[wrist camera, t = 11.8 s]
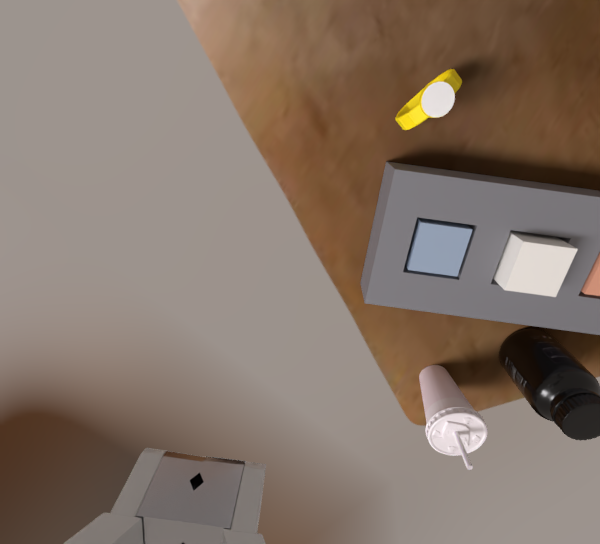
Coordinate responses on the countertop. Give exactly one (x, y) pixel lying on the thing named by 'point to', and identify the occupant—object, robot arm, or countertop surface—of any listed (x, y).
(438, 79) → the watch
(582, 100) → the countertop surface
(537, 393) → the supplement bottle
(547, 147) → the countertop surface
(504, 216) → the key panel
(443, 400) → the smoothie
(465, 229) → the slate blue key
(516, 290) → the white key
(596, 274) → the terracotta key
